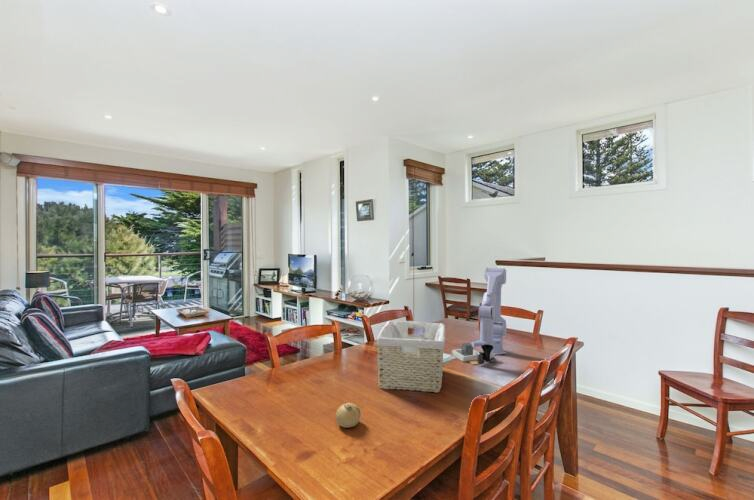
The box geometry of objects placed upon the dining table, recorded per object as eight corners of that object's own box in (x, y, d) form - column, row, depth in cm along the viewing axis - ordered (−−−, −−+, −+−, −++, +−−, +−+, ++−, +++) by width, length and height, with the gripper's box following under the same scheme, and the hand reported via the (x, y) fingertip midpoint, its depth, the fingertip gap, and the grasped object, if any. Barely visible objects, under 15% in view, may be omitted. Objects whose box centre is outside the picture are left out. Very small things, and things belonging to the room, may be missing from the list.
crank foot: (483, 359, 171) (483, 357, 171) (491, 358, 172) (492, 356, 172) (489, 363, 166) (489, 361, 166) (498, 362, 168) (498, 359, 167)
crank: (489, 356, 171) (489, 347, 171) (495, 358, 169) (495, 348, 169) (476, 362, 163) (476, 352, 163) (482, 364, 161) (482, 354, 161)
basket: (444, 396, 132) (445, 339, 131) (374, 390, 137) (374, 335, 136) (445, 369, 158) (445, 321, 157) (386, 365, 163) (386, 319, 163)
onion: (330, 424, 112) (330, 402, 112) (349, 415, 118) (349, 394, 118) (346, 434, 107) (346, 411, 106) (365, 424, 112) (365, 402, 112)
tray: (452, 354, 178) (452, 349, 178) (470, 352, 181) (470, 347, 181) (463, 361, 168) (463, 356, 168) (482, 359, 171) (482, 354, 171)
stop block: (461, 355, 176) (461, 343, 175) (468, 354, 177) (468, 342, 177) (465, 357, 172) (465, 345, 172) (472, 357, 173) (473, 345, 173)
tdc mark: (468, 361, 168) (468, 361, 168) (475, 361, 169) (475, 360, 169) (473, 364, 164) (473, 364, 164) (480, 363, 165) (480, 363, 165)
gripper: (478, 335, 155) (477, 365, 156) (505, 332, 160) (505, 361, 160) (469, 331, 162) (469, 360, 163) (495, 328, 166) (495, 356, 167)
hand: (486, 360), depth 162 cm, fingers closed, pressing on crank
